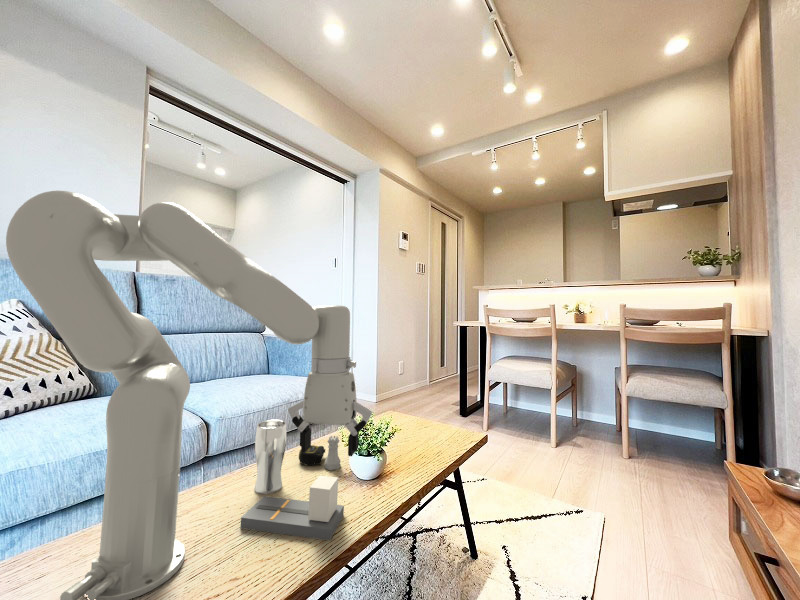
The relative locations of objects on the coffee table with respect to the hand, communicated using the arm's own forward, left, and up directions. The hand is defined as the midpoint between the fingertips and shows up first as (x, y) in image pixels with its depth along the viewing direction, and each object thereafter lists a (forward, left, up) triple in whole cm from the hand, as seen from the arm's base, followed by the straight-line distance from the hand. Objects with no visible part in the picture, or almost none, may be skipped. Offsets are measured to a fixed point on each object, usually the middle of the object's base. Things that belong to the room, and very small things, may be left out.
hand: (328, 451), depth 67 cm
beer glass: (+11, +18, -14) cm, 26 cm away
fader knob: (0, +1, -12) cm, 12 cm away
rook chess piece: (+25, +8, -14) cm, 29 cm away
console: (0, +7, -14) cm, 16 cm away
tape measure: (+27, +14, -15) cm, 34 cm away
